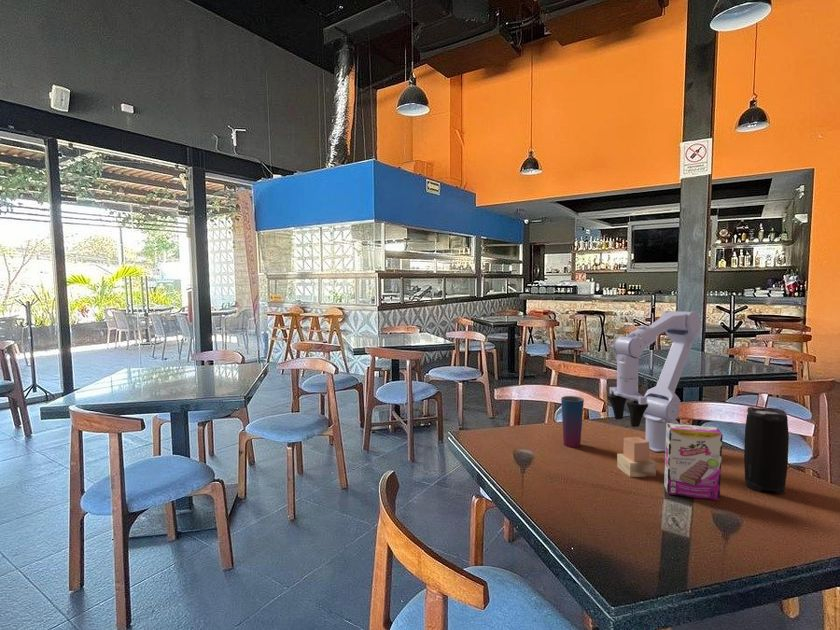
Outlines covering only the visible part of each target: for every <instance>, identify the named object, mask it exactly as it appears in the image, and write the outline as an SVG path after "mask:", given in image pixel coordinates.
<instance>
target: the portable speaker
mask: <svg viewBox="0 0 840 630" xmlns="http://www.w3.org/2000/svg"><path fill="white" fill-rule="evenodd" d="M746 412H747V414H746V420H745V427H744V446H743V447H744V451H743V453H744V454H743V461H744V463H743V466H744V468H743V469H744V480H745V484H746V487H747V488H749V489H750V490H752V491H756V492H761V491H771V492H774V493H775V494H776V495H782V494H783V495H784V494H785V492H786V491H785V490H786V482H787V476H788V475H787V474H788V466H789V445H790V444H789V442H790V441H789V440H790V439H789V438H790V437H789V421H788V414H787V413H786V412H785V410H783V409H780V408H774V407H766V408H765V407H761V408H760V407H759V408H758V407H754V406H749V407H747V409H746Z"/></svg>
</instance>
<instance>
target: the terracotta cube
mask: <svg viewBox="0 0 840 630" xmlns="http://www.w3.org/2000/svg"><path fill="white" fill-rule="evenodd" d="M622 449H623V450H622V451H623V452H622V454H623V456H625V457H626V458H628V459H630V460H632V461H633V462H638V461H649V458H650V449H649V442H648V441H646V440H645V439H644V438H641V437H639V436H632V437H631V436H630V437H623V448H622Z"/></svg>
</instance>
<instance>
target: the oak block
mask: <svg viewBox="0 0 840 630" xmlns="http://www.w3.org/2000/svg"><path fill="white" fill-rule="evenodd" d="M616 457H617V459H616V460H617V461H616V467H617V468H618V469H619V470H621V471H622V473H624V474H625V475H627V476H628V477H629V478H638V477H639V478H640V477H641V478H642V477H644V478H645V477H646V476H649V477H657V462H656V461H655V460H653V459H652V458H650V457H649V461H638V462H633V461H632V460H630V459H628V458H626V457H625V456H623V453H617V454H616Z"/></svg>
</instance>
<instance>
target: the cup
mask: <svg viewBox="0 0 840 630" xmlns="http://www.w3.org/2000/svg"><path fill="white" fill-rule="evenodd" d="M584 402H585V401H584V398H582V397H581V396H576V395H575V396H574V395H565V396H561V416H562V417H561V418H562V419H561V420H562V421H561V422H562V437H563V440H562V441H563V445H564V446H565V447H568V448H575V449H576V448H579V447H580V446H581V440H582V426H583V415H584Z"/></svg>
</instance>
